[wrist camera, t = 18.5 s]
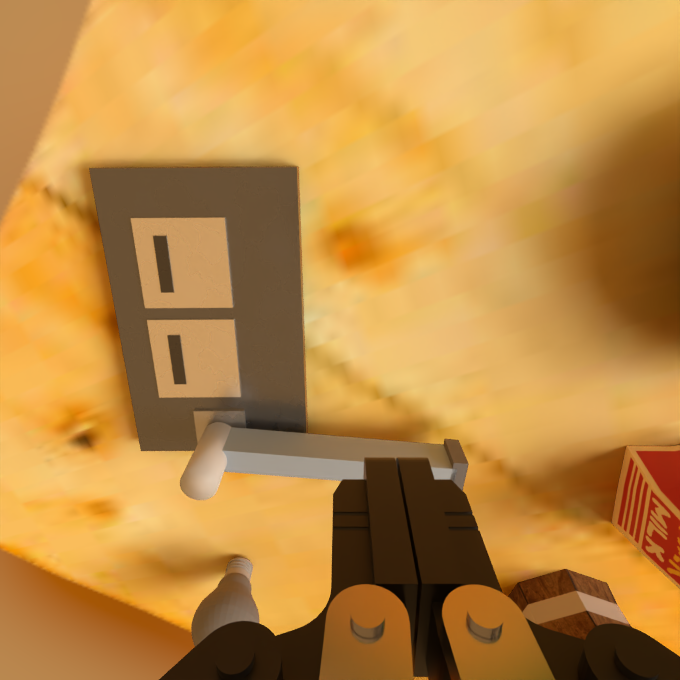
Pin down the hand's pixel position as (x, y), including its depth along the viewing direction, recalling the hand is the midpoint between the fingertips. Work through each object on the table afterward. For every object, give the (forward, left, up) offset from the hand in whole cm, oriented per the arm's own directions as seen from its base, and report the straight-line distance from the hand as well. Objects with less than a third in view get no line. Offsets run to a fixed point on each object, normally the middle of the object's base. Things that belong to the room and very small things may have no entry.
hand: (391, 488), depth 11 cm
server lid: (+5, -12, -29) cm, 31 cm away
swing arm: (+16, -2, -26) cm, 31 cm away
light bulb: (+32, -12, -29) cm, 45 cm away
